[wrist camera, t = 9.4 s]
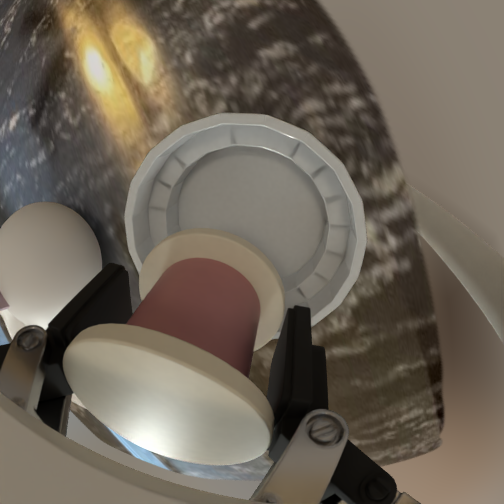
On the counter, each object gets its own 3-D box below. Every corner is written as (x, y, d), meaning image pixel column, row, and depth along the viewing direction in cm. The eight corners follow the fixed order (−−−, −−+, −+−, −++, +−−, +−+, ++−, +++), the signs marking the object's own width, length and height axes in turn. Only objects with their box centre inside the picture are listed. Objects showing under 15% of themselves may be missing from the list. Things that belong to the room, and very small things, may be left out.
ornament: (37, 244, 25) (-38, 302, 14) (60, 166, 21) (-47, 214, 10) (102, 304, 27) (36, 384, 16) (139, 235, 22) (44, 325, 12)
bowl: (389, 211, 19) (414, 239, 14) (262, 326, 25) (254, 368, 20) (234, 74, 16) (214, 60, 12) (130, 224, 22) (95, 250, 18)
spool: (317, 294, 11) (324, 435, 6) (226, 365, 13) (197, 474, 8) (191, 194, 10) (87, 288, 4) (125, 294, 12) (52, 389, 7)
